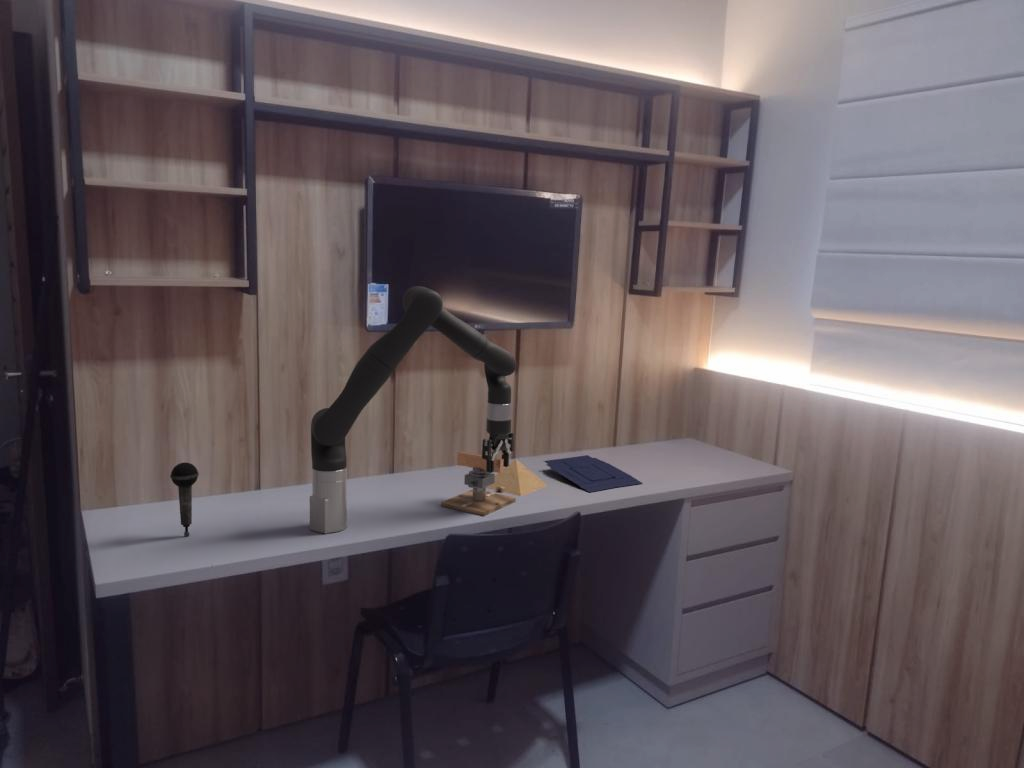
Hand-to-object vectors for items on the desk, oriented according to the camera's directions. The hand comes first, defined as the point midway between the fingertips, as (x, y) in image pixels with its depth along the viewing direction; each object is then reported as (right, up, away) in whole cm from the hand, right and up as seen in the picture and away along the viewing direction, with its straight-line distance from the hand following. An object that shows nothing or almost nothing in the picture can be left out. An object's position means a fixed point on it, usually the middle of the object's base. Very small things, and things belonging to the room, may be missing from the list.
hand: (497, 469), depth 227 cm
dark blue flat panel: (+32, -8, +39) cm, 51 cm away
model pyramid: (+5, -9, +25) cm, 27 cm away
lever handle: (-6, -5, +4) cm, 9 cm away
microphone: (-82, -14, -30) cm, 88 cm away
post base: (-6, -11, +5) cm, 14 cm away
